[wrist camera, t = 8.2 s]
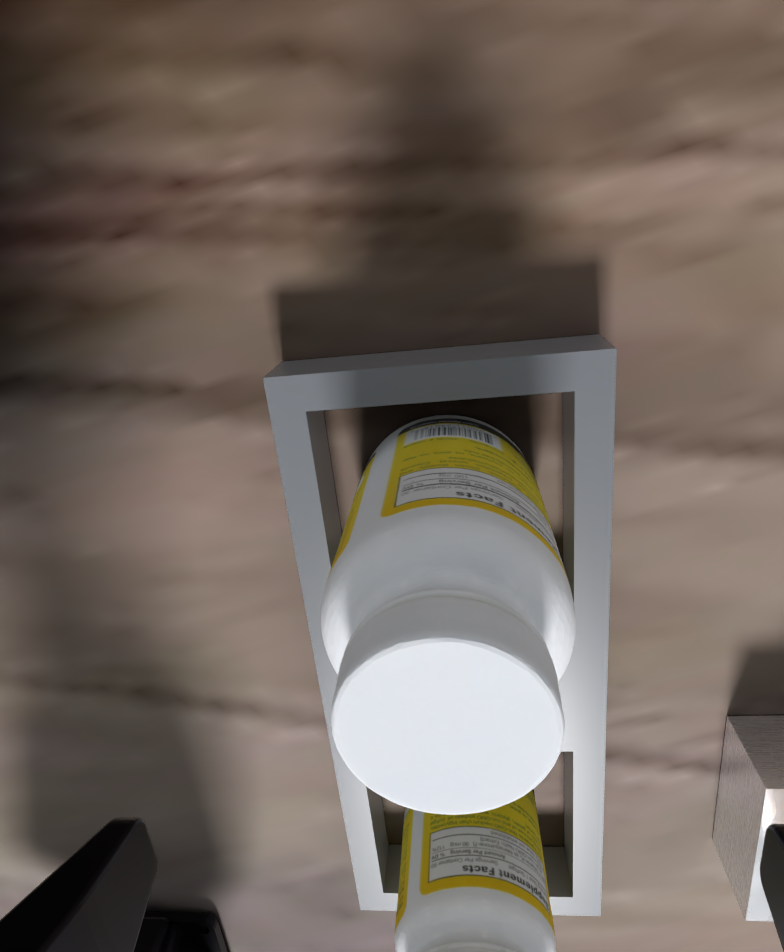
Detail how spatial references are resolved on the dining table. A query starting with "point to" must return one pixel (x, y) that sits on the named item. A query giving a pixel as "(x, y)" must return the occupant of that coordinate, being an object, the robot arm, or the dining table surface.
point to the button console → (749, 804)
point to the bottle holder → (584, 559)
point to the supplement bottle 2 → (474, 882)
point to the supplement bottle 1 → (448, 622)
